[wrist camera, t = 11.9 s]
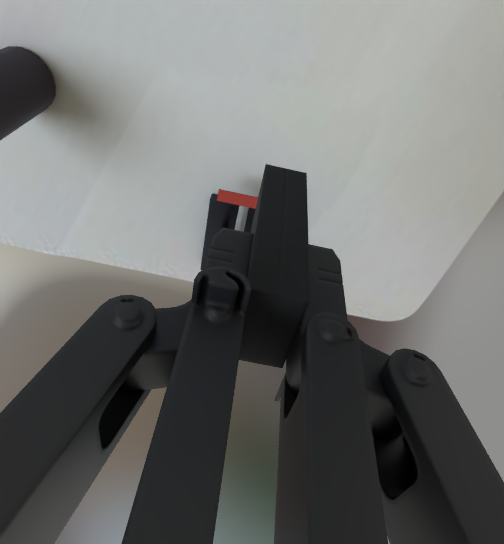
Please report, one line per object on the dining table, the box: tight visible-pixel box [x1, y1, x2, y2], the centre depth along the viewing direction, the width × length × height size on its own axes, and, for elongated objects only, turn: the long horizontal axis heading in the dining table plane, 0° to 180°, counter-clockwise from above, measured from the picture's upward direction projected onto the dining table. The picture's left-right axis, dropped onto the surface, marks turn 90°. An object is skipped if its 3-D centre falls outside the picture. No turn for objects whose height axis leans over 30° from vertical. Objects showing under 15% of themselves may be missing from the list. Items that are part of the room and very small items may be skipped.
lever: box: [217, 189, 258, 232], centre depth 47 cm, size 13×6×2 cm
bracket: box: [201, 194, 256, 270], centre depth 51 cm, size 12×9×13 cm
